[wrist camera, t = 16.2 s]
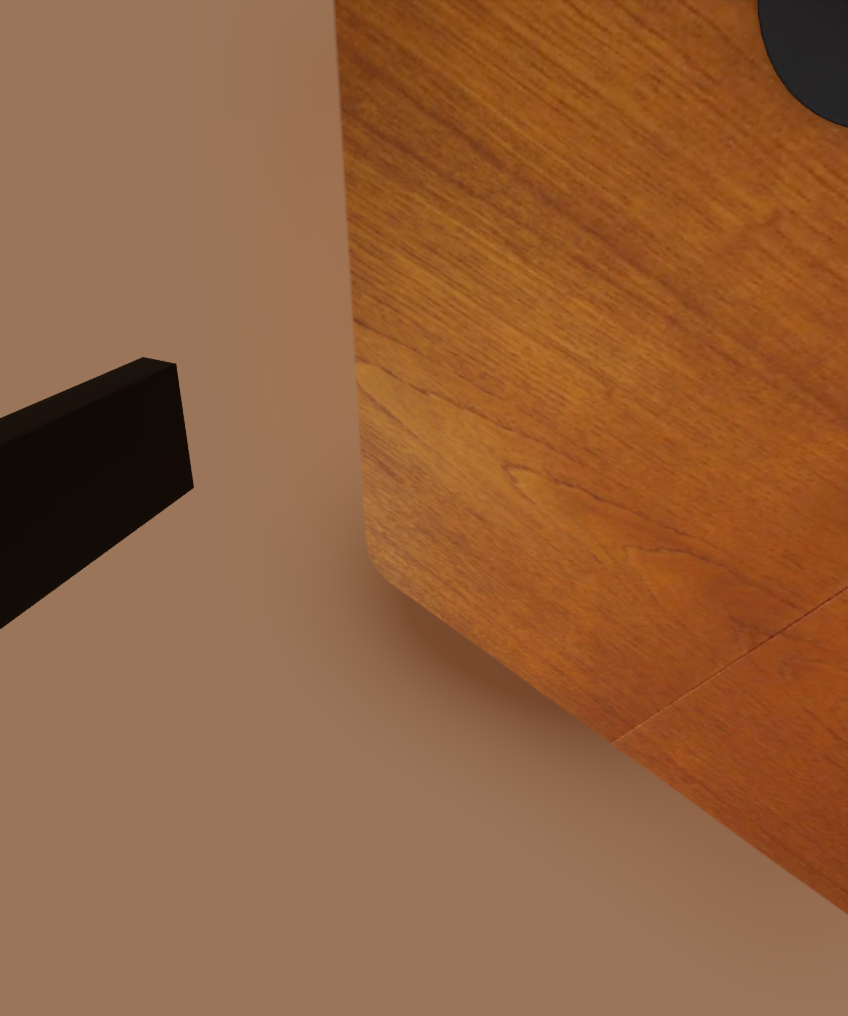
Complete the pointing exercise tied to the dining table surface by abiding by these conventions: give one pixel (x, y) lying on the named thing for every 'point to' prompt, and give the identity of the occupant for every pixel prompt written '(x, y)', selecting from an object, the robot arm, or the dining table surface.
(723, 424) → the dining table surface
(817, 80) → the mat
